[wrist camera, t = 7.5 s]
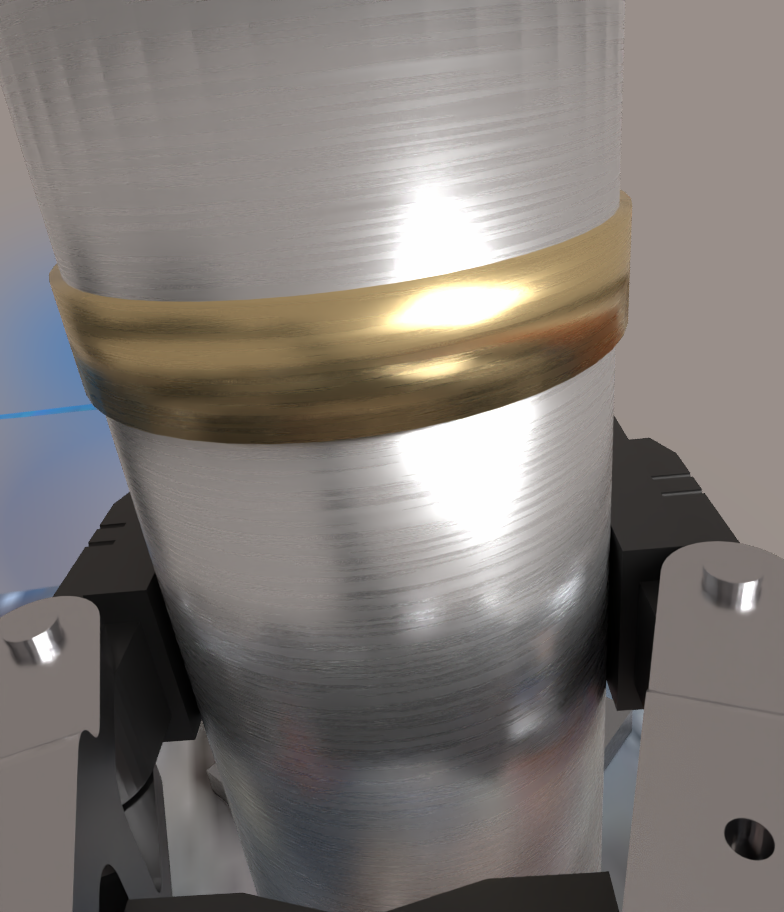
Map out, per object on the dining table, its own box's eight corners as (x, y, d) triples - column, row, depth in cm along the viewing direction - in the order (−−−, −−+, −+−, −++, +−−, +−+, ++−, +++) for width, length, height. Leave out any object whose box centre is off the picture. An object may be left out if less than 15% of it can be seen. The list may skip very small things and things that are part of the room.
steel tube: (249, 1050, 13) (-148, 26, 6) (427, 835, 17) (313, 7, 9) (491, 1324, 10) (280, -155, 3) (653, 990, 13) (749, -85, 6)
